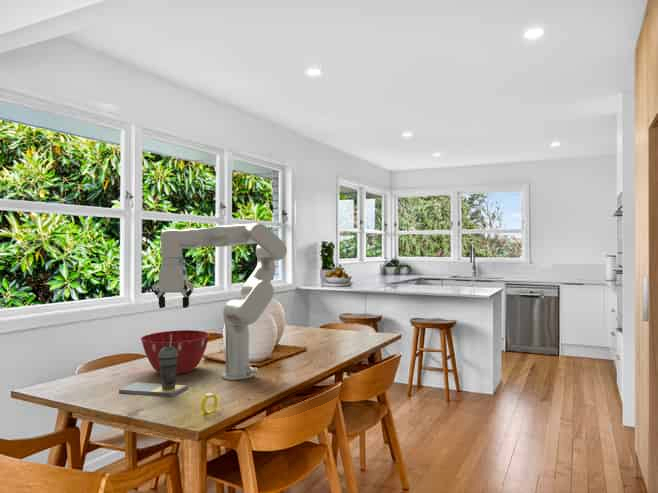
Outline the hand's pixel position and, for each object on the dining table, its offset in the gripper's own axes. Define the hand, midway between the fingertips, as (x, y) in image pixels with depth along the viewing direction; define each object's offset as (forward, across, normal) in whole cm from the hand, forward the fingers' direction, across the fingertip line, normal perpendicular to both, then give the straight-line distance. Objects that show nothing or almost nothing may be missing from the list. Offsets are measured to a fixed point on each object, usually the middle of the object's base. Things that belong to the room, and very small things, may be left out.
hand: (174, 307), depth 186 cm
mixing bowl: (+31, +14, -24) cm, 41 cm away
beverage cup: (+29, 0, +6) cm, 30 cm away
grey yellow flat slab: (+30, +7, +6) cm, 31 cm away
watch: (+31, -25, +24) cm, 46 cm away
